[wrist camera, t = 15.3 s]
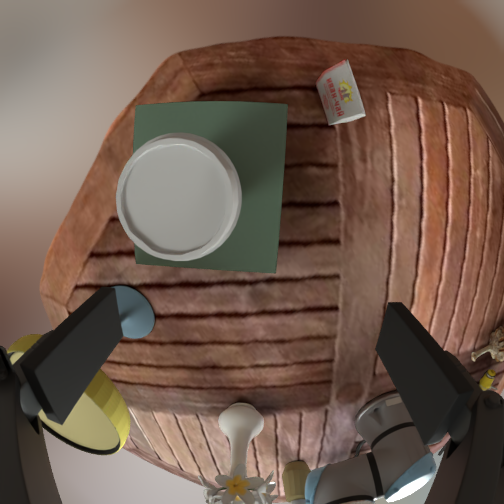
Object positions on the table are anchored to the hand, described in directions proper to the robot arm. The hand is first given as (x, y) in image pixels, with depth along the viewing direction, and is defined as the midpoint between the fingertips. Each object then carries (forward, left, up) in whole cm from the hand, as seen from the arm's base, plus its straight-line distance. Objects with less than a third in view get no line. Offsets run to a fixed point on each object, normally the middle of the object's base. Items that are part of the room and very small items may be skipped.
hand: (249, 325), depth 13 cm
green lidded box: (+4, +6, -30) cm, 30 cm away
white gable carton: (+17, -10, -30) cm, 36 cm away
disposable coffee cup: (+4, +6, -20) cm, 21 cm away
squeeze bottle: (-67, -15, -30) cm, 75 cm away
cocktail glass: (-19, +22, -30) cm, 41 cm away
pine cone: (-24, -58, -30) cm, 70 cm away
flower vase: (-42, 0, -30) cm, 51 cm away
